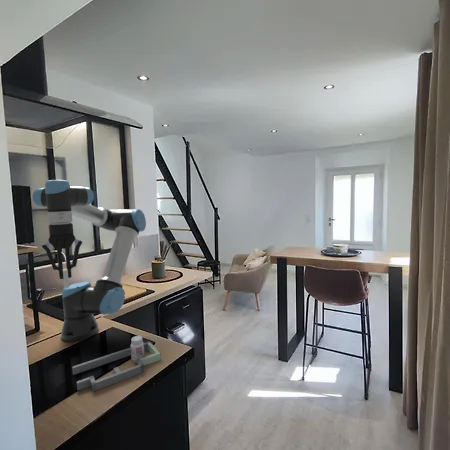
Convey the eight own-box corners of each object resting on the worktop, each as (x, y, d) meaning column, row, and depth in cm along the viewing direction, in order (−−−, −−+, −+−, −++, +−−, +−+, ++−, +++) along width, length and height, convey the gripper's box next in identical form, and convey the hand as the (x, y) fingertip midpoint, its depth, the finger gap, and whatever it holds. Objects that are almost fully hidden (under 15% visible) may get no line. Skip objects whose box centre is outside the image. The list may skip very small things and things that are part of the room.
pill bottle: (138, 364, 104) (136, 342, 103) (128, 360, 107) (127, 339, 106) (147, 357, 109) (145, 336, 108) (138, 354, 111) (136, 334, 110)
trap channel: (72, 373, 100) (72, 366, 100) (149, 347, 116) (149, 341, 116) (79, 396, 88) (78, 389, 88) (164, 363, 104) (164, 357, 104)
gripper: (39, 225, 95) (46, 293, 97) (82, 222, 102) (87, 285, 105) (38, 224, 101) (44, 288, 103) (79, 221, 108) (84, 281, 111)
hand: (66, 286), depth 104 cm, fingers closed
